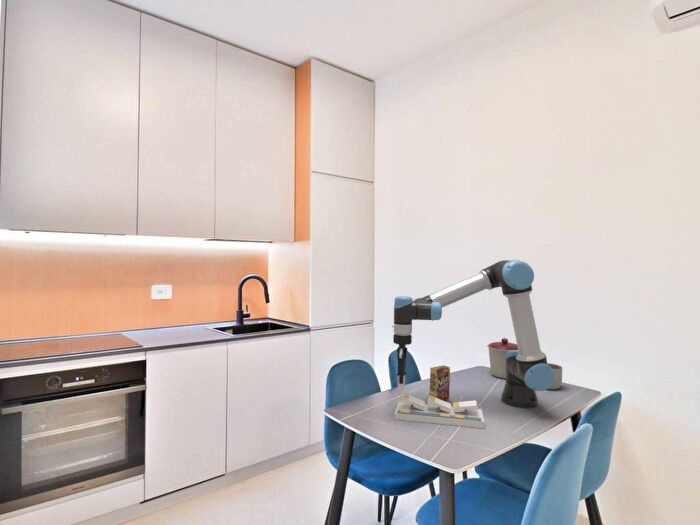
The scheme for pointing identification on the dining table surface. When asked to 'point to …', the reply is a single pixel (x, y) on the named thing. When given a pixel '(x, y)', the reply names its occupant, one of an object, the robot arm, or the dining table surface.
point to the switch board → (439, 416)
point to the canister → (500, 356)
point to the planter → (556, 376)
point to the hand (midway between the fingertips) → (401, 390)
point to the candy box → (440, 382)
